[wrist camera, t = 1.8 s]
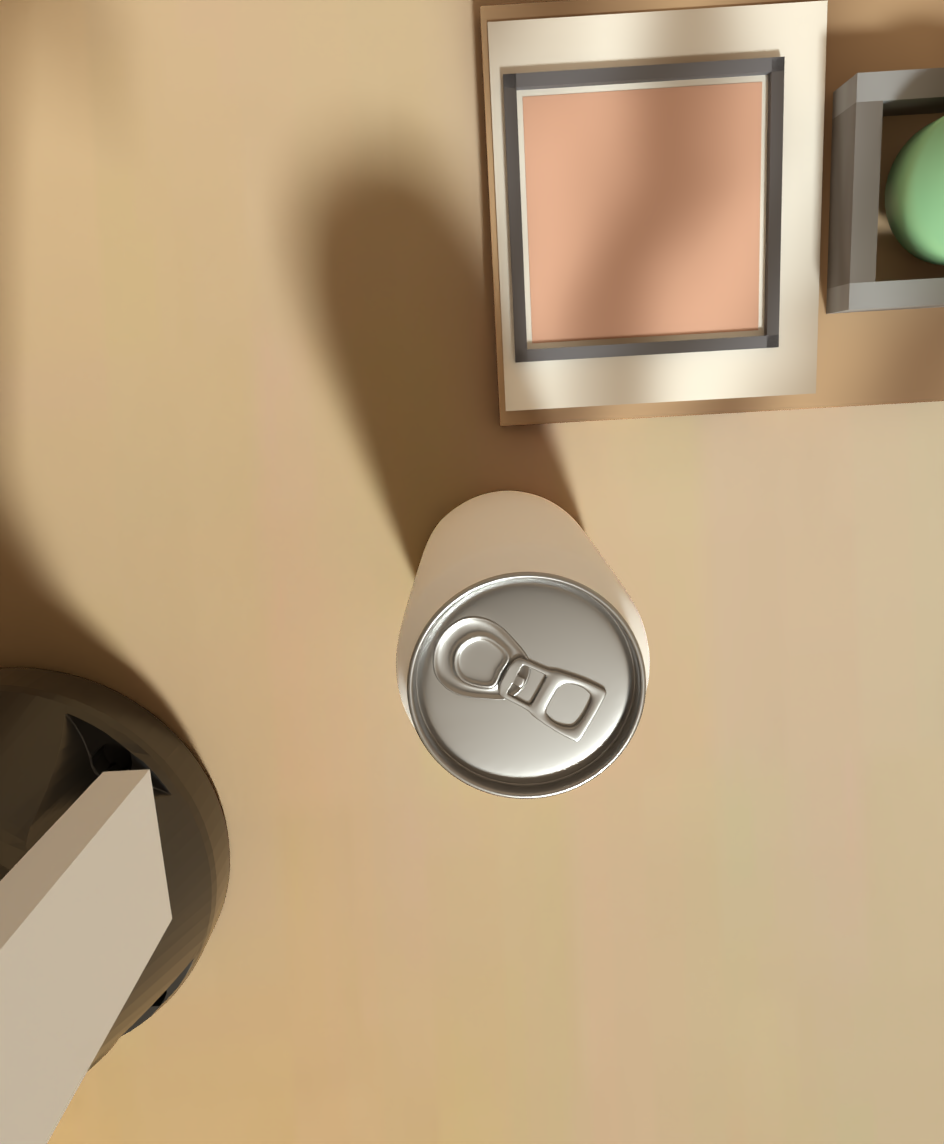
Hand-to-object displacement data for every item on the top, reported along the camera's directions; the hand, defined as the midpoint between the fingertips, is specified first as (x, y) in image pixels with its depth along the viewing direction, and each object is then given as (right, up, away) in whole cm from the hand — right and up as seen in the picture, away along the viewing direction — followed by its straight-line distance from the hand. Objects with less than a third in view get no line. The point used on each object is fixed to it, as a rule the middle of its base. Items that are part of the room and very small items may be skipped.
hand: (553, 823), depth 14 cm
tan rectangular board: (+8, +16, +15) cm, 24 cm away
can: (0, +4, +18) cm, 18 cm away
